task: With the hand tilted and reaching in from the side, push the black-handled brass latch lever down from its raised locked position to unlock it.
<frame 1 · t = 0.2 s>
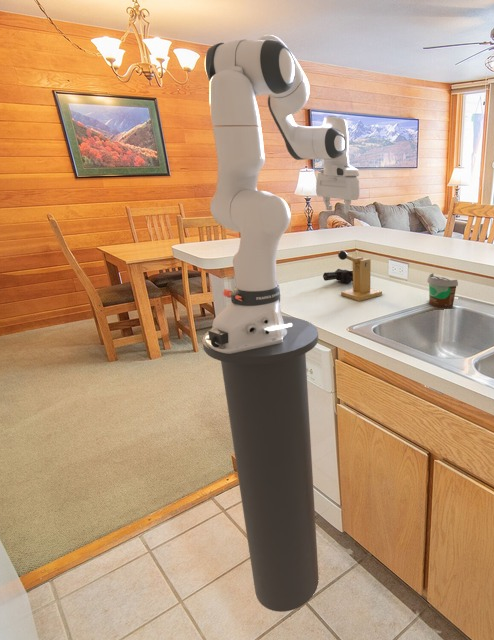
hand: (337, 211, 158), 30 cm above the worktop, tool pointing down, fingers open, 8 cm apart
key: (349, 283, 181), on the worktop
lever stand: (361, 295, 166), on the worktop
latch lever: (352, 259, 157), point 14 cm above the worktop, hinge at 25.0°
food container: (437, 305, 157), on the worktop
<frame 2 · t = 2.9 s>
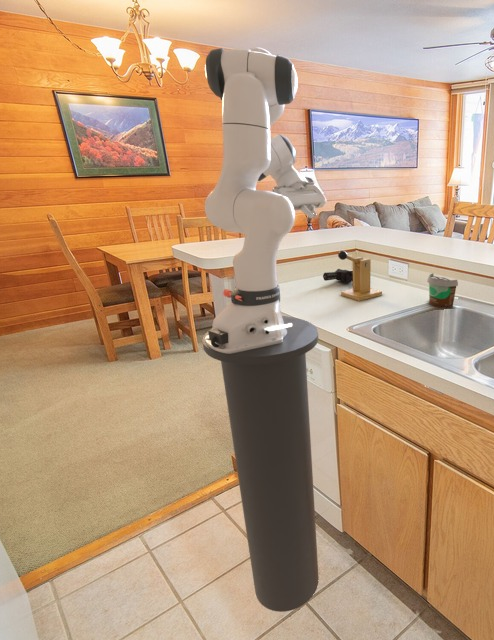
hand: (314, 217, 155), 28 cm above the worktop, tool tilted 45°, fingers closed
nothing on the worktop moved.
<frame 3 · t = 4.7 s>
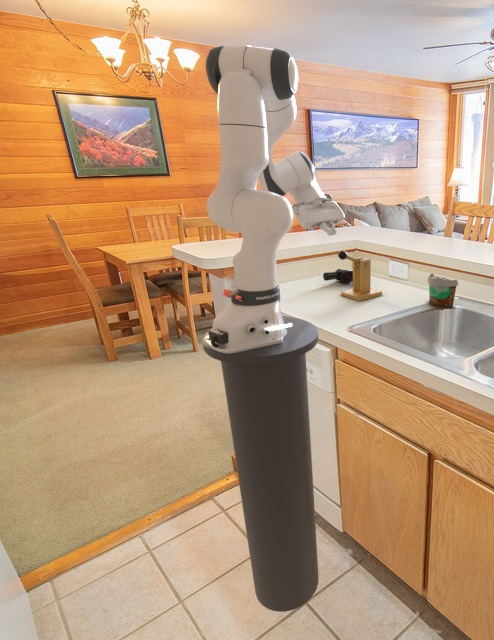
hand: (333, 234, 153), 23 cm above the worktop, tool tilted 45°, fingers closed
nothing on the worktop moved.
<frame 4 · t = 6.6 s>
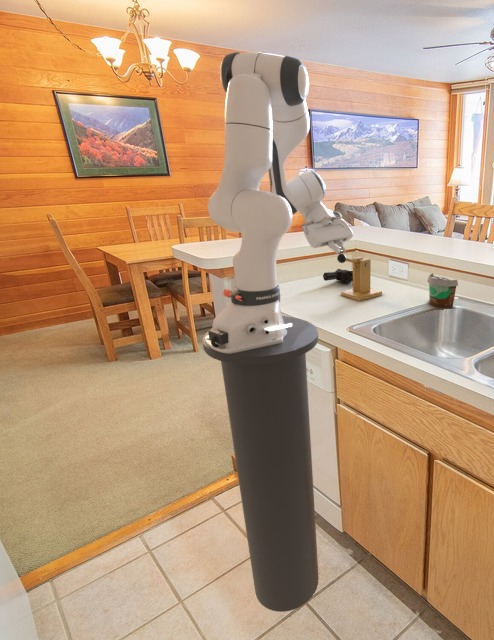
hand: (341, 252, 153), 17 cm above the worktop, tool tilted 45°, fingers closed
latch lever: (351, 260, 157), point 14 cm above the worktop, hinge at 18.3°, touching gripper
everything else where it was.
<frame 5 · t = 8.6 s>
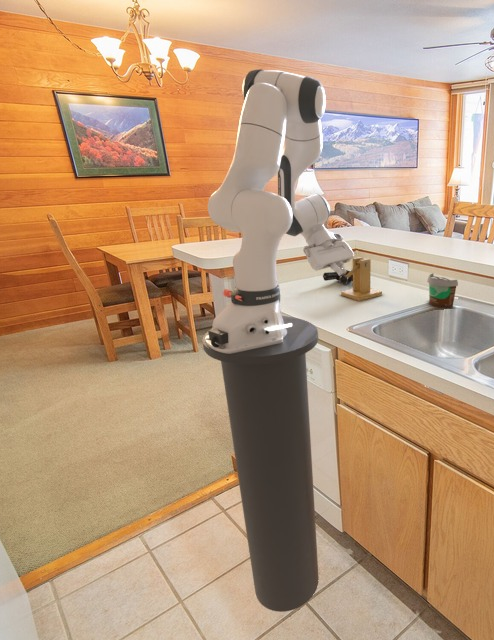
hand: (343, 274, 156), 9 cm above the worktop, tool tilted 45°, fingers closed, pressing on latch lever
latch lever: (352, 271, 159), point 10 cm above the worktop, hinge at -27.7°, touching gripper
everything else where it was.
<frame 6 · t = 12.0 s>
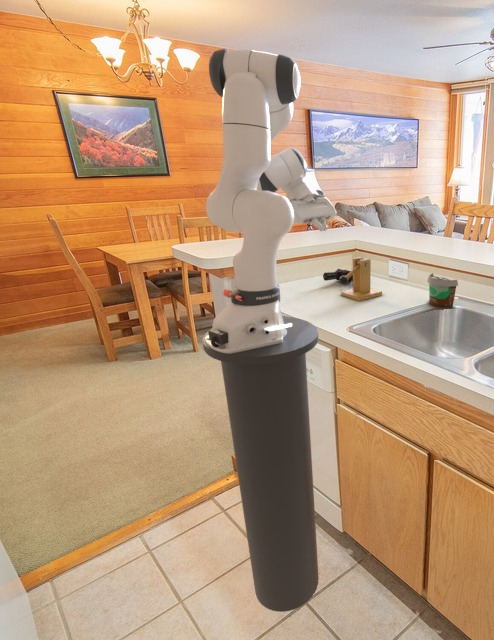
hand: (324, 229, 155), 24 cm above the worktop, tool tilted 45°, fingers closed
latch lever: (352, 271, 159), point 10 cm above the worktop, hinge at -28.6°
everything else where it was.
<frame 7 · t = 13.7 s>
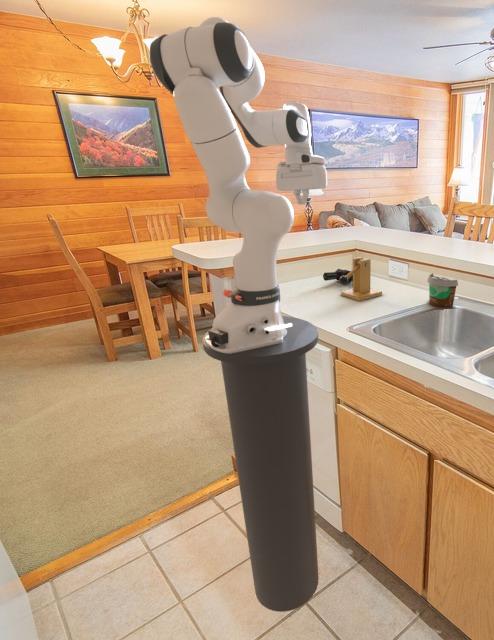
hand: (302, 204, 147), 33 cm above the worktop, tool pointing down, fingers closed
nothing on the worktop moved.
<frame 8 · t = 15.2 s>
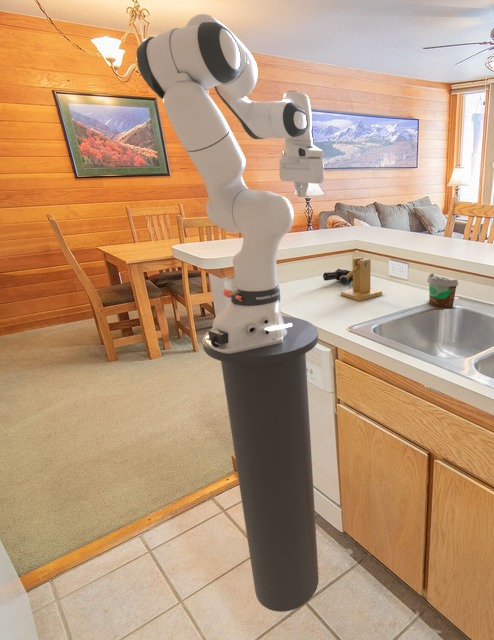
hand: (301, 196, 146), 35 cm above the worktop, tool pointing down, fingers closed
nothing on the worktop moved.
at the end: latch lever at -29° (first picture: +25°); latch lever reached +25° during the clip, -29° at the end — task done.
